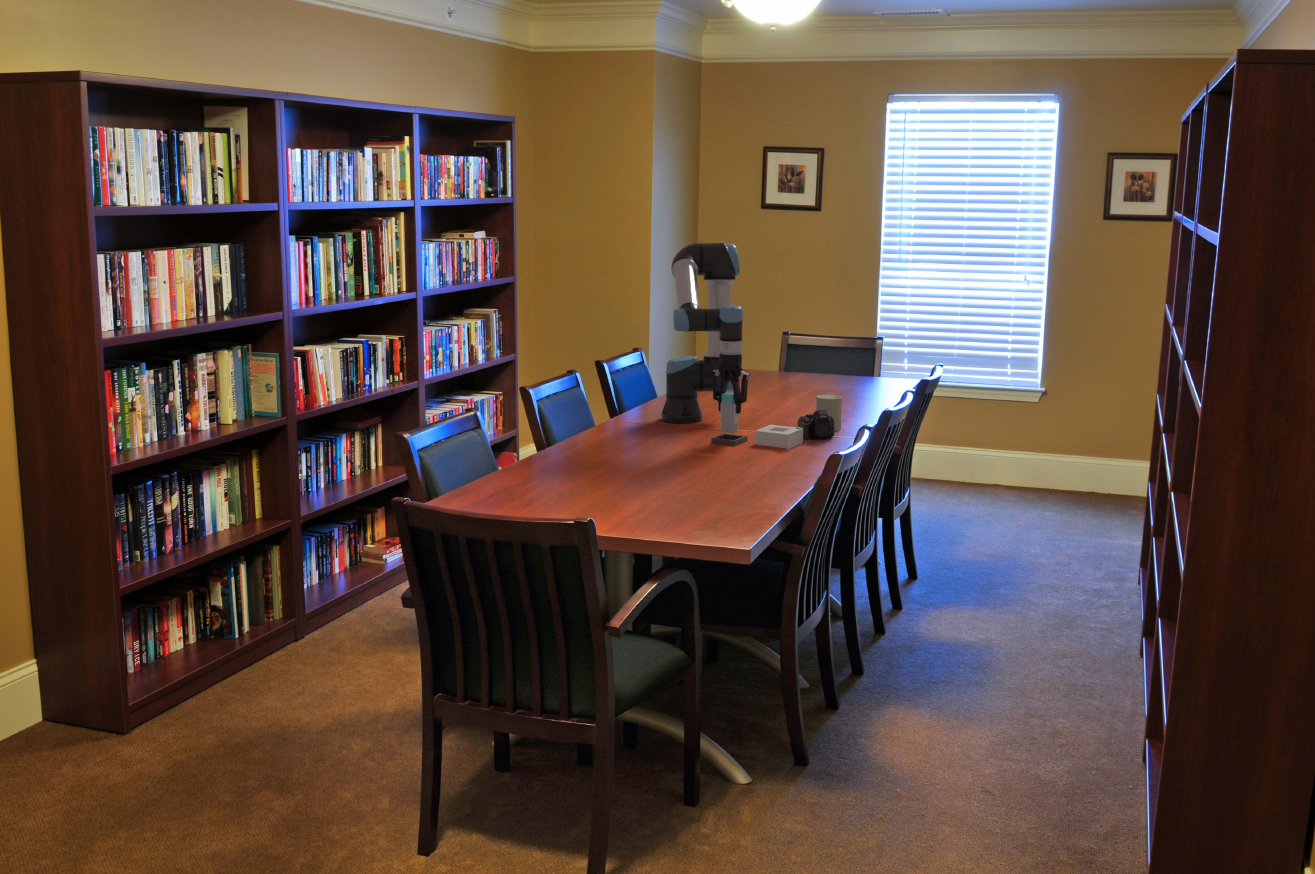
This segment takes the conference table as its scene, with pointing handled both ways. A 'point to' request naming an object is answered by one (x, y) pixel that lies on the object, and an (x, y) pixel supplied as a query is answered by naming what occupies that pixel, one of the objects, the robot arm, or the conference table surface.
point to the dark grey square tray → (729, 439)
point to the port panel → (779, 436)
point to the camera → (817, 425)
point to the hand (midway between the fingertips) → (729, 421)
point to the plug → (728, 413)
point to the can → (831, 407)
